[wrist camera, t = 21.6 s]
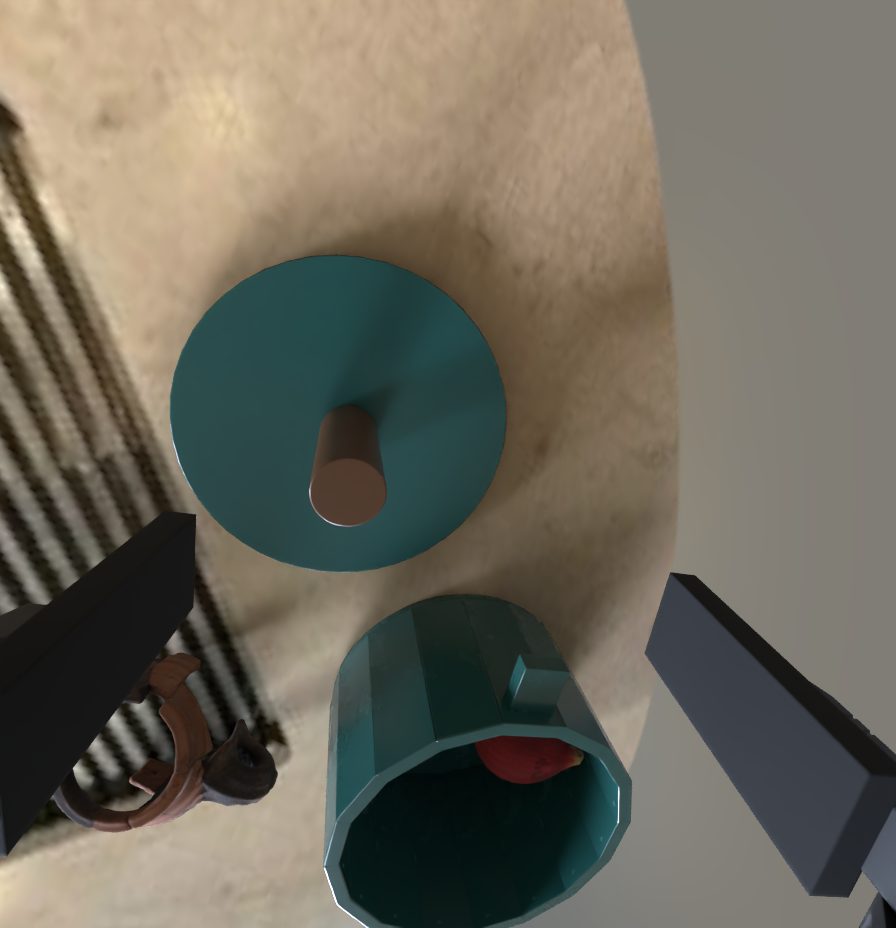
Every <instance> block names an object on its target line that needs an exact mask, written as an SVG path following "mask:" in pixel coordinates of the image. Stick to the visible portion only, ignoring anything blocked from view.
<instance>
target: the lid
mask: <svg viewBox="0 0 896 928" xmlns="http://www.w3.org/2000/svg"><path fill="white" fill-rule="evenodd" d="M170 424H171V432H172V440H173V443H174V447H175V451H176V454H177V458H178V461H179V464H180V466H181V468H182V471H183V473H184V475H185V477H186V480H187V482H188V483H189V485H190V487H191V488H192V490H193V492H194V493H195V495H196V497H197V498H198V500H199V501H200V502H201V504H202V505H203V506H204V507H205V508H206V510H207V511H208V512H209V513H210V515H211V516H212V517H213V518H214V519H215V520H216V521H217V522H218V523H219V524H220V525H221V526H222V527H223V528H224V529H226V530H227V531H228V532H229V533H231V534H232V535H233V536H235V537H236V538H237V539H239V540H240V541H241V542H243V543H244V544H246V545H248V546H249V547H251V548H253V549H254V550H256V551H258V552H260V553H261V554H264V555H266V556H268V557H271V558H273V559H275V560H278V561H280V562H283V563H287V564H290V565H293V566H296V567H300V568H306V569H311V570H316V571H327V572H359V571H365V570H372V569H378V568H382V567H386V566H389V565H393V564H397V563H399V562H402V561H404V560H407V559H409V558H412V557H414V556H416V555H418V554H420V553H422V552H424V551H426V550H428V549H430V548H431V547H433V546H434V545H436V544H437V543H439V542H440V541H442V540H443V539H444V538H446V537H447V536H448V535H449V534H451V533H452V532H453V531H454V530H455V529H456V528H458V527H459V526H460V525H461V524H462V523H463V521H464V520H465V519H466V518H467V517H468V516H469V515H470V514H471V513H472V512H473V510H474V509H475V507H476V506H477V505H478V503H479V502H480V500H481V499H482V498H483V496H484V494H485V493H486V491H487V489H488V487H489V485H490V483H491V482H492V480H493V477H494V475H495V472H496V469H497V467H498V464H499V461H500V458H501V454H502V450H503V446H504V439H505V431H506V402H505V395H504V388H503V383H502V379H501V376H500V372H499V369H498V365H497V363H496V361H495V359H494V356H493V354H492V352H491V349H490V347H489V345H488V344H487V342H486V340H485V339H484V337H483V335H482V334H481V332H480V330H479V329H478V327H477V326H476V325H475V323H474V322H473V321H472V320H471V319H470V317H469V316H468V315H467V314H466V312H465V311H464V310H463V309H462V308H461V307H460V306H459V305H458V304H457V303H456V302H454V301H453V300H452V299H451V298H450V297H449V296H448V295H447V294H446V293H444V292H443V291H441V290H440V289H439V288H437V287H436V286H434V285H433V284H432V283H430V282H429V281H427V280H425V279H423V278H421V277H419V276H418V275H416V274H414V273H412V272H410V271H408V270H406V269H403V268H400V267H397V266H395V265H392V264H389V263H387V262H383V261H378V260H374V259H369V258H365V257H359V256H347V255H323V256H310V257H305V258H300V259H295V260H290V261H286V262H284V263H281V264H278V265H275V266H272V267H269V268H267V269H264V270H262V271H260V272H258V273H256V274H255V275H253V276H251V277H249V278H247V279H245V280H243V281H242V282H240V283H239V284H238V285H236V286H235V287H234V288H232V289H231V290H230V291H228V292H227V293H225V294H224V295H223V296H222V297H221V298H220V299H219V300H218V301H217V302H216V303H215V304H214V305H213V306H212V307H211V308H210V309H209V310H208V311H207V312H206V313H205V314H204V316H203V317H202V319H201V320H200V321H199V323H198V324H197V325H196V327H195V328H194V329H193V331H192V333H191V335H190V336H189V338H188V340H187V342H186V344H185V346H184V348H183V350H182V352H181V355H180V358H179V361H178V364H177V367H176V370H175V373H174V377H173V383H172V389H171V394H170Z"/></svg>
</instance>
